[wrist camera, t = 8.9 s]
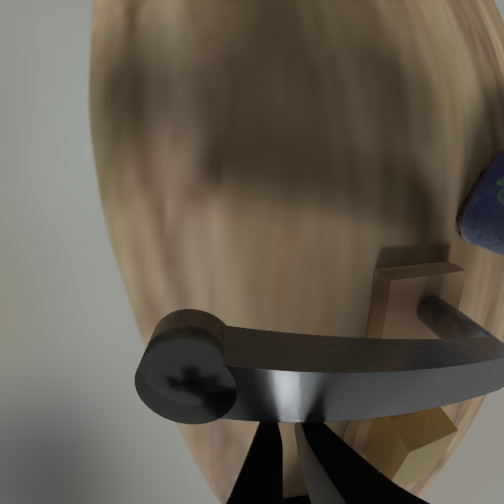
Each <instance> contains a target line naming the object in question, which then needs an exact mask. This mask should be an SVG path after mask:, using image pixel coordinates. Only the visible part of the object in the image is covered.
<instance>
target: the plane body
mask: <svg viewBox="0 0 504 504" xmlns="http://www.w3.org/2000/svg"><path fill="white" fill-rule="evenodd" d="M465 272H466V270H464V269H462V268H460V267H458V266H456V265H454V264H452V263H450V262H448V261H445V262H436V263H426V264H417V265H407V266H396V267H386V268H375V269H374V280H373V289H372V298H371V306H370V313H369V320H368V327H367V333H366V338H376V339H440V338H439V337H438V336H437V335H436V334H435V333H433V332H432V331H431V330H430V329H429V328H428V327H427V326H426V325H424V324H423V323H422V322H421V321H420V320H419V318H418V311H419V308H420V306H421V304H422V302H423V301H424V300H425V299H426V298H427V297H429V296H431V295H437V296H439V297H440V298H442V299H443V300H445V301H446V302H447V303H449V304H450V305H452V306H453V307H455V308H456V309H458V306H459V302H460V298H461V293H462V288H463V283H464V277H465ZM372 421H373V418H369V419H359V420H348V422H347V426H346V430H345V433H344V437H343V441H344V442H346V443H347V444H348V445H349V446H350V447H351V448H352V449H354V450H355V451H356V452H357V453H358V454H359V455H361V456H362V457H363V458H364V459H365V460H366V458H365V455H364V453H363V451H362V448H363V445H364V443H365V440H366V438H367V435H368V432H369V429H370V427H371V424H372Z"/></svg>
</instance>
